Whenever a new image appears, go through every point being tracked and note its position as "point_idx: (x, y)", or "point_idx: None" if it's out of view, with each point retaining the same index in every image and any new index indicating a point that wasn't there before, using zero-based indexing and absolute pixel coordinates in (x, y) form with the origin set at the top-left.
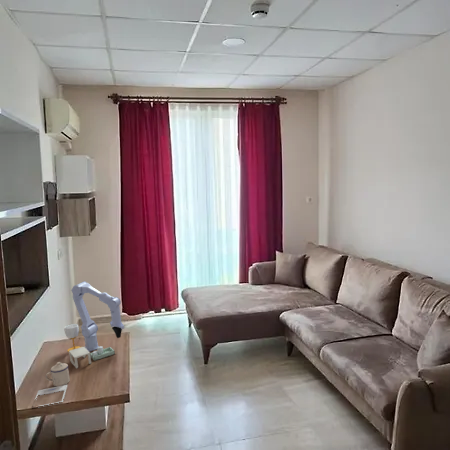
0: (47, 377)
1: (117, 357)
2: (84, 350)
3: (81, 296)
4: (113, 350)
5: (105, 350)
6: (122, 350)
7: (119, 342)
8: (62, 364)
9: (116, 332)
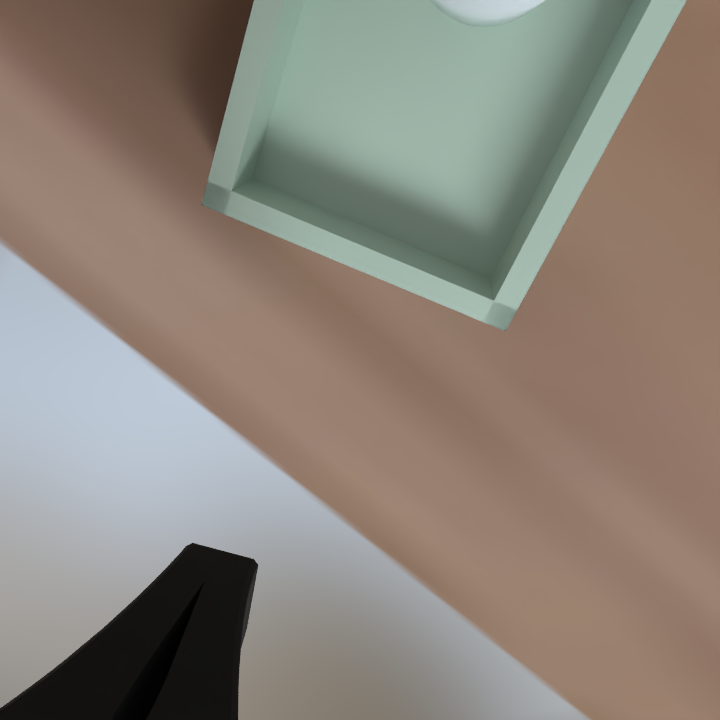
0: None
1: (18, 72)
2: None
3: None
4: (233, 200)
5: (546, 183)
6: (232, 373)
7: (591, 608)
8: None
9: (4, 718)
